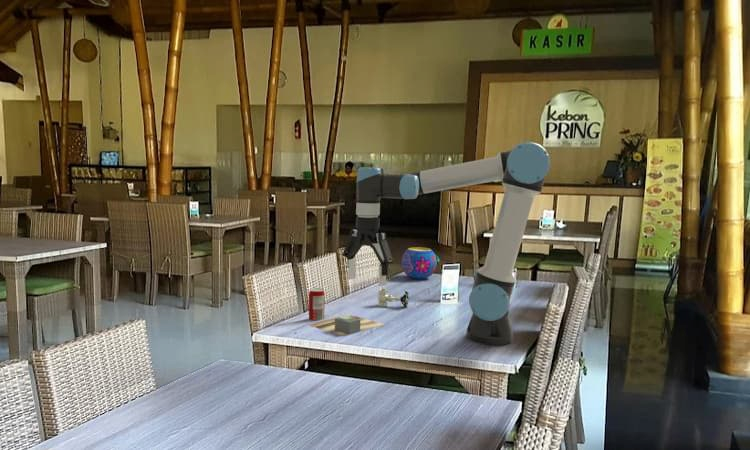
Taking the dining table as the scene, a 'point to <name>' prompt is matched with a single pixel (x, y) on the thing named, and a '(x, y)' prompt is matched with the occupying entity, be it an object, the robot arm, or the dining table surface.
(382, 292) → the valve
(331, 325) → the panel
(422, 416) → the dining table surface
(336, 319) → the block
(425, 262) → the ceramic pot
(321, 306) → the soda can
